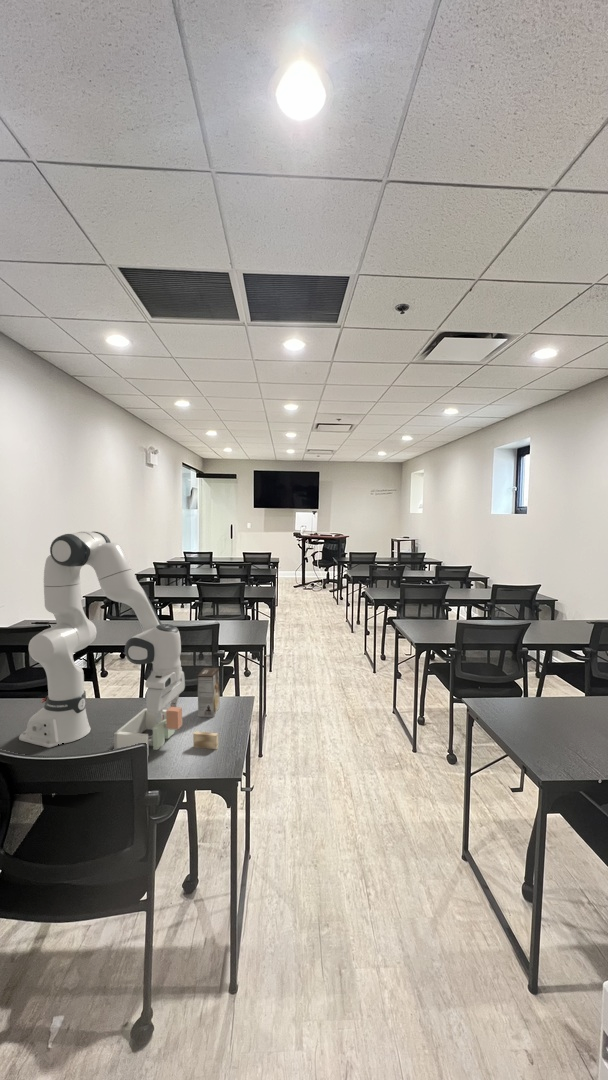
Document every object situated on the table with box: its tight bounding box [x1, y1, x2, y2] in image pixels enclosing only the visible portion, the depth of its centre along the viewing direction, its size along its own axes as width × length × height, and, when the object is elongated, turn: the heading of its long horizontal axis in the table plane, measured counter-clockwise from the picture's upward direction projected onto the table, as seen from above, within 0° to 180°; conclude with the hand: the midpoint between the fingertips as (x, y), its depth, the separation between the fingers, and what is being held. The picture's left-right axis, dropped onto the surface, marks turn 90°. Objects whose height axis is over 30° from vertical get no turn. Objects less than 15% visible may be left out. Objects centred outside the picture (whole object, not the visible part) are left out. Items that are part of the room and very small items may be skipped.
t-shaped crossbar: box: [152, 706, 183, 751], centre depth 150 cm, size 6×12×11 cm, turn 170°
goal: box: [113, 707, 168, 757], centre depth 152 cm, size 11×19×7 cm, turn 170°
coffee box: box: [196, 667, 221, 718], centre depth 174 cm, size 9×6×16 cm
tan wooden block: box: [192, 731, 219, 750], centre depth 148 cm, size 8×2×5 cm, turn 80°
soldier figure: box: [148, 723, 158, 748], centre depth 152 cm, size 8×5×12 cm
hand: (167, 714), depth 150 cm, fingers open, 8 cm apart
